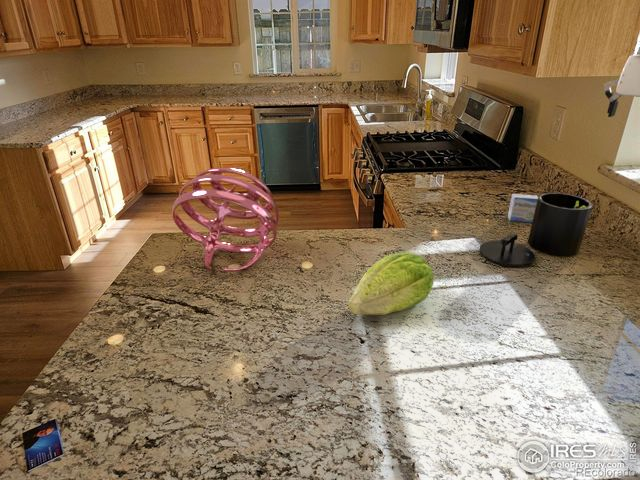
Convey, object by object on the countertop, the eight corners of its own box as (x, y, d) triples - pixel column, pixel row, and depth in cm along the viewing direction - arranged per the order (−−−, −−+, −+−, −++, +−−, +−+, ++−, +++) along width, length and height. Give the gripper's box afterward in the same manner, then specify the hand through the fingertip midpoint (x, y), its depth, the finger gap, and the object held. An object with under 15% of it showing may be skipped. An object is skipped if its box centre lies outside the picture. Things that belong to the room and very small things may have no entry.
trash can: (586, 247, 126) (599, 201, 120) (566, 261, 118) (580, 213, 112) (540, 232, 136) (550, 189, 129) (519, 245, 128) (529, 199, 121)
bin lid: (543, 256, 121) (548, 237, 118) (518, 273, 113) (522, 254, 110) (495, 239, 131) (499, 221, 129) (468, 254, 123) (471, 235, 120)
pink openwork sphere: (229, 231, 91) (255, 137, 105) (132, 242, 102) (167, 155, 116) (286, 285, 113) (302, 202, 126) (201, 289, 124) (224, 212, 137)
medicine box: (509, 221, 144) (514, 197, 140) (507, 216, 148) (512, 192, 144) (534, 223, 142) (540, 199, 138) (531, 218, 146) (537, 194, 142)
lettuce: (326, 283, 98) (355, 278, 86) (396, 248, 108) (431, 240, 96) (348, 334, 98) (380, 337, 86) (416, 295, 108) (454, 292, 96)
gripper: (698, 50, 104) (673, 121, 112) (618, 48, 116) (601, 113, 124) (690, 51, 100) (664, 125, 108) (608, 49, 112) (590, 116, 119)
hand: (630, 118), depth 116 cm, fingers open, 9 cm apart
